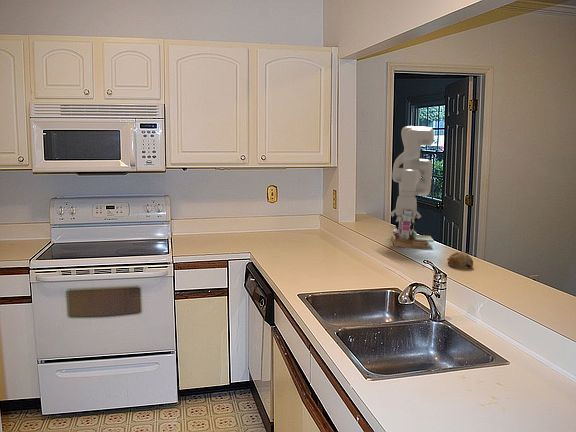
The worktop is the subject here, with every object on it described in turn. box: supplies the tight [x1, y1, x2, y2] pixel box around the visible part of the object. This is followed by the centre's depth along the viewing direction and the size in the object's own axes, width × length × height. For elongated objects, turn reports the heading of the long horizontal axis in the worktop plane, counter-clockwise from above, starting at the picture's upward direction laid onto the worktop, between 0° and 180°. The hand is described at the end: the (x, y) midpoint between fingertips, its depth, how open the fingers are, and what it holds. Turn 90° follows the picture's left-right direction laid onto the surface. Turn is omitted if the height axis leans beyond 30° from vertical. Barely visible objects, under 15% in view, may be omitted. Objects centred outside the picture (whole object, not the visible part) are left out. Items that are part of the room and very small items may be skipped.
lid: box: [412, 229, 435, 243], centre depth 273 cm, size 14×10×3 cm
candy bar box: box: [397, 209, 413, 239], centre depth 274 cm, size 11×5×16 cm, turn 173°
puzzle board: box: [391, 233, 429, 250], centre depth 274 cm, size 18×16×4 cm
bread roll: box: [446, 251, 474, 270], centre depth 229 cm, size 10×10×8 cm
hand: (404, 229), depth 274 cm, fingers open, 6 cm apart
